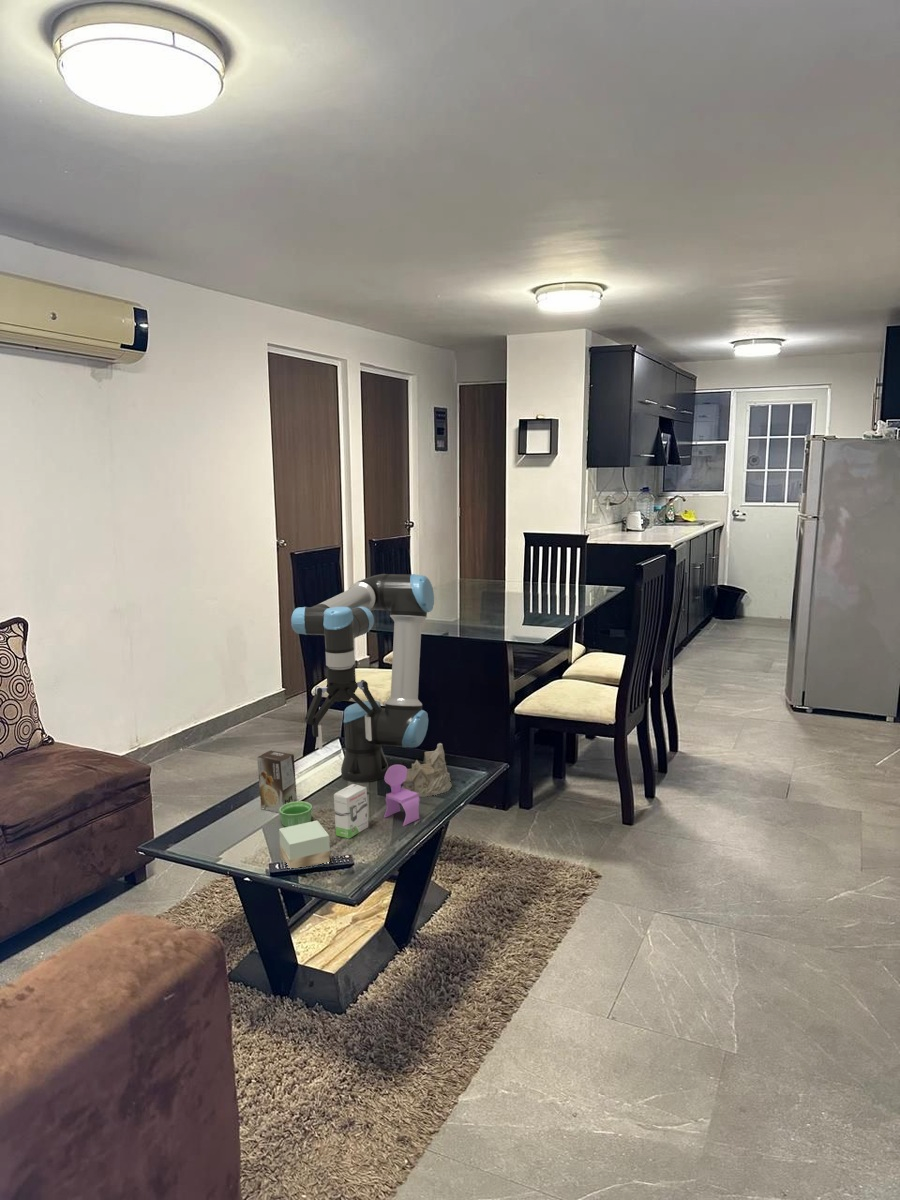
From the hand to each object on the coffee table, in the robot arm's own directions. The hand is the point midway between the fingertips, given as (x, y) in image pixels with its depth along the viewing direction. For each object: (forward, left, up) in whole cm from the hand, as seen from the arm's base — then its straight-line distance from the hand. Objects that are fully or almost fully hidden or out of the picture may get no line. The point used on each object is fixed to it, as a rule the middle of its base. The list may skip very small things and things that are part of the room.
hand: (344, 743), depth 217 cm
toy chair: (-16, -1, -25) cm, 30 cm away
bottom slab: (+15, +10, -25) cm, 31 cm away
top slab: (+15, +11, -21) cm, 28 cm away
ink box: (-1, 0, -25) cm, 25 cm away
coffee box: (+13, -25, -25) cm, 38 cm away
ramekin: (+11, -13, -25) cm, 30 cm away
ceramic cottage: (-31, -18, -25) cm, 44 cm away
